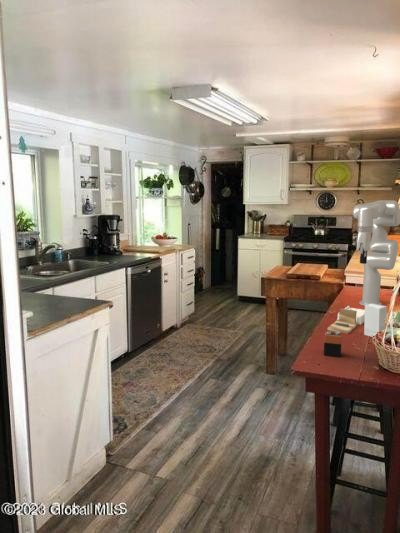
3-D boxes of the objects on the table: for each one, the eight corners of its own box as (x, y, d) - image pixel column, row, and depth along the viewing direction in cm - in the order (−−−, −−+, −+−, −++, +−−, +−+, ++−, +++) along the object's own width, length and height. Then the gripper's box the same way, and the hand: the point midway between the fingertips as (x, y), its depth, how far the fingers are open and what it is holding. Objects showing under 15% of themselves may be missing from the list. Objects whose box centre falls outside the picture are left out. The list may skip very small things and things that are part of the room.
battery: (340, 357, 178) (341, 334, 176) (323, 355, 180) (324, 332, 178) (340, 353, 182) (342, 331, 180) (324, 351, 184) (325, 329, 182)
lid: (338, 322, 227) (339, 308, 226) (357, 325, 221) (358, 311, 220) (327, 330, 213) (328, 315, 212) (347, 334, 207) (348, 319, 206)
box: (348, 313, 242) (348, 305, 241) (370, 316, 235) (370, 309, 234) (337, 321, 227) (337, 313, 226) (360, 325, 220) (361, 316, 220)
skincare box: (386, 337, 202) (388, 306, 200) (378, 339, 199) (380, 308, 196) (370, 332, 209) (372, 302, 207) (362, 334, 206) (364, 304, 203)
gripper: (361, 228, 239) (360, 260, 243) (353, 230, 228) (351, 264, 231) (376, 228, 235) (374, 262, 238) (368, 231, 223) (366, 266, 227)
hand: (363, 263), depth 235 cm, fingers closed
